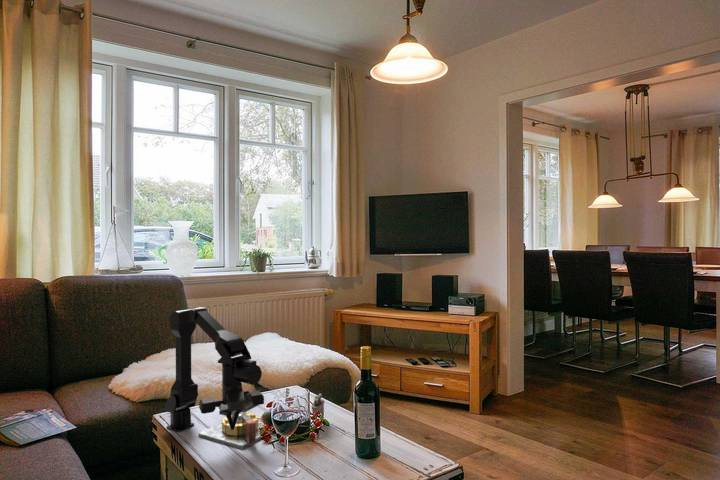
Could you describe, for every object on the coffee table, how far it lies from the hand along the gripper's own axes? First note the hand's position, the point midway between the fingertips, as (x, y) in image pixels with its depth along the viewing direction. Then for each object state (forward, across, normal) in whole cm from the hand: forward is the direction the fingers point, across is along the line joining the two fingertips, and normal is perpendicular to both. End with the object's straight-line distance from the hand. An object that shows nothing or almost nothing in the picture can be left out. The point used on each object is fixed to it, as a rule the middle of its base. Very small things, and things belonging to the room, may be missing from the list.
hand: (232, 429), depth 149 cm
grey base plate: (+5, +4, +9) cm, 12 cm away
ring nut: (+4, +5, +6) cm, 8 cm away
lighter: (+5, +30, +4) cm, 30 cm away
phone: (+6, +9, +32) cm, 34 cm away
